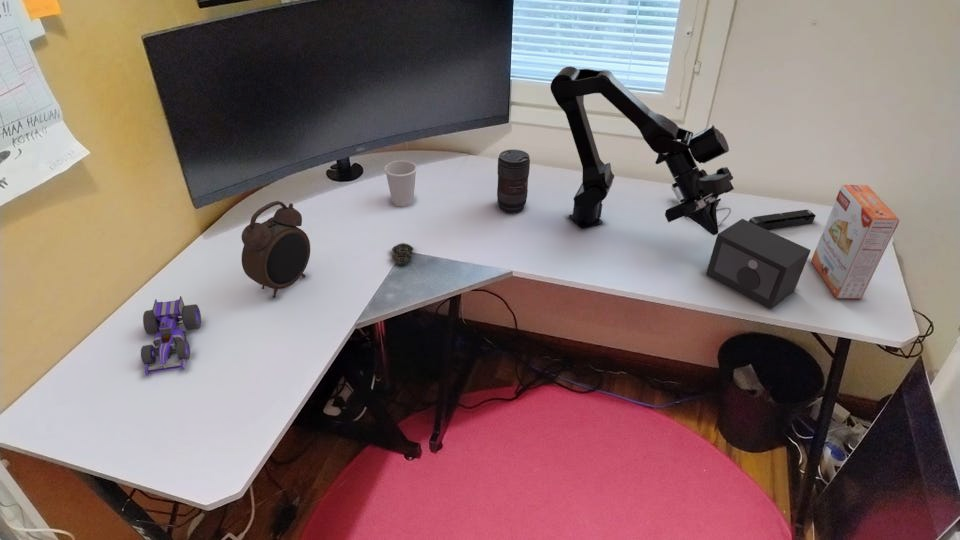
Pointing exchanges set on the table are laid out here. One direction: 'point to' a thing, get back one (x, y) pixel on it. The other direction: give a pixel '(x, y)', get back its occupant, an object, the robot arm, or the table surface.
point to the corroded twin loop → (402, 253)
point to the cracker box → (853, 241)
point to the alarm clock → (275, 248)
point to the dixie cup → (401, 181)
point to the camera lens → (512, 180)
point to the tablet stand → (784, 219)
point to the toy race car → (168, 333)
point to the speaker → (757, 262)
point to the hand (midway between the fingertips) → (715, 234)
